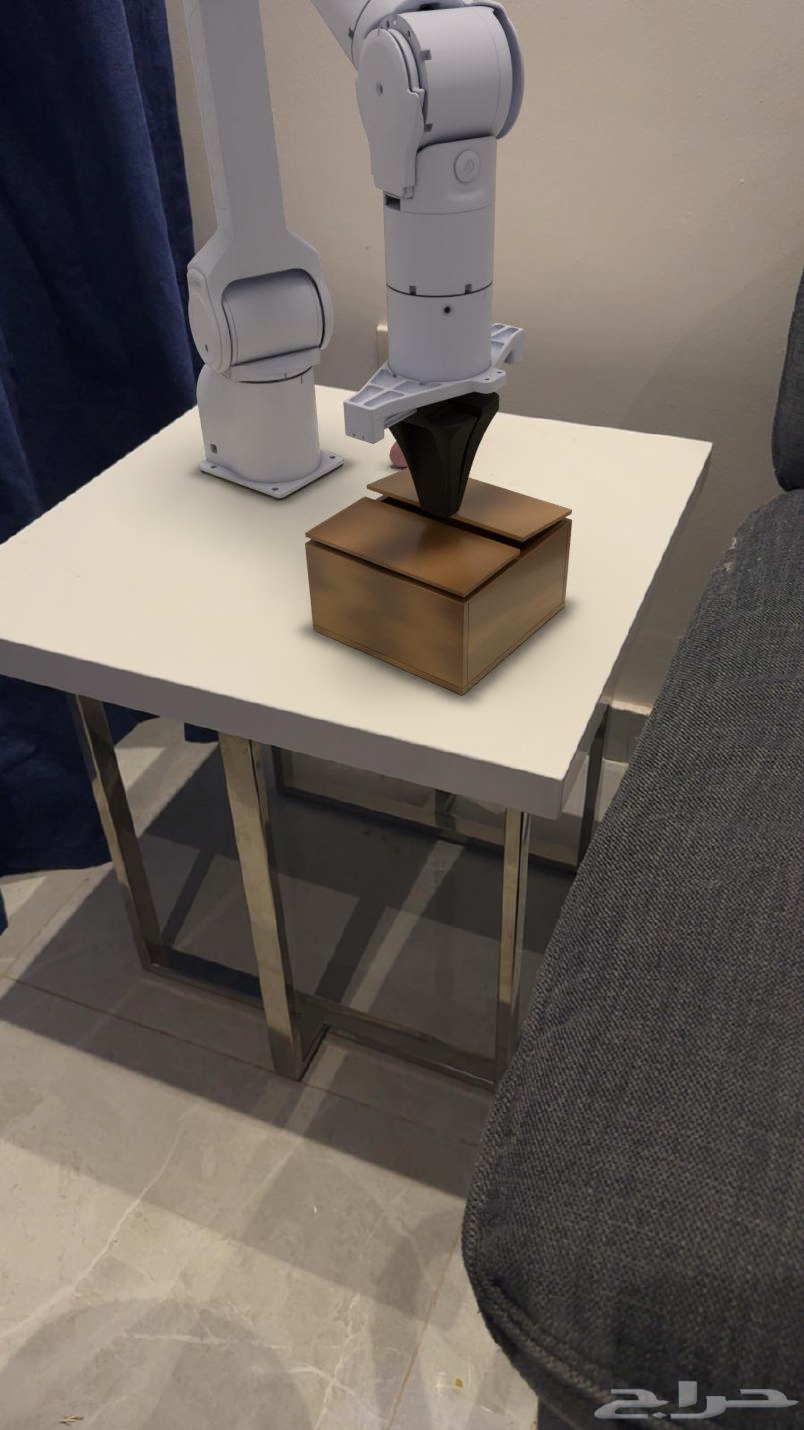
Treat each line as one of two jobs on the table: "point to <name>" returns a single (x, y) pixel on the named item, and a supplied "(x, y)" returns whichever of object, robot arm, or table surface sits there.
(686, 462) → the table surface
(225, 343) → the robot arm
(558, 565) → the wooden box
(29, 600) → the table surface
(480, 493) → the flap
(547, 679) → the table surface
